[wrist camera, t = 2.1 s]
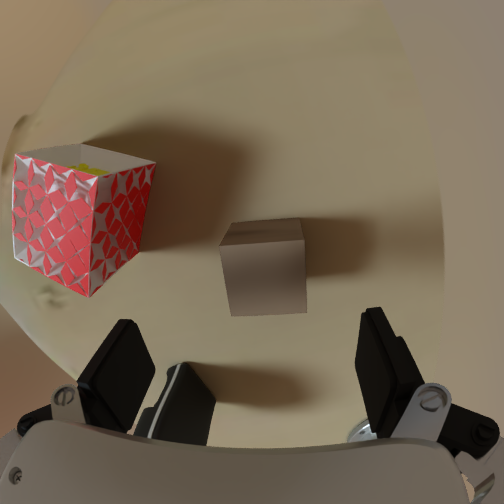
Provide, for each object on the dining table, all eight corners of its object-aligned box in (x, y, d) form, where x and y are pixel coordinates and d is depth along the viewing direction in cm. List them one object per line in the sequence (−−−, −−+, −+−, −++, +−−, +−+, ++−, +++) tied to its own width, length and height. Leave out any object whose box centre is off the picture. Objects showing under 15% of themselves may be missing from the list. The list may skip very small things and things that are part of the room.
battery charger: (158, 364, 28) (119, 448, 17) (186, 358, 27) (150, 450, 17) (191, 403, 30) (167, 482, 20) (219, 399, 29) (199, 485, 19)
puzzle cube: (156, 162, 20) (98, 176, 13) (139, 252, 23) (89, 298, 16) (80, 143, 20) (14, 153, 13) (70, 225, 23) (13, 257, 16)
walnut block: (302, 277, 23) (307, 312, 18) (240, 281, 23) (231, 316, 19) (299, 217, 21) (304, 239, 16) (232, 222, 21) (218, 246, 17)
